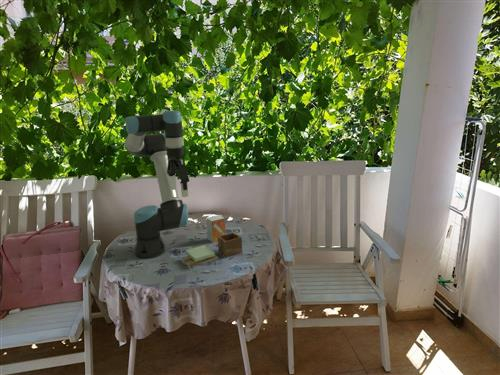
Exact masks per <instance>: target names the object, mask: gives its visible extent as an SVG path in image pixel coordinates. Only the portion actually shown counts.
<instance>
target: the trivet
mask: <svg viewBox="0 0 500 375" xmlns="http://www.w3.org/2000/svg"><path fill="white" fill-rule="evenodd" d="M182 260H183V261H184V263H186V264H187V265H188V266H189V267H190V268H191V269H194V267H196V266H200V265H202V264H206V263H209V262H212V261H215V260H219V256H217V254H215V256H213V257H209V258H206V259H203V260H199V261H196V262H195V261H194V260H193V259H192V258H191V257H190V256H189V255H186V256H183V257H182Z"/></svg>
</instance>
